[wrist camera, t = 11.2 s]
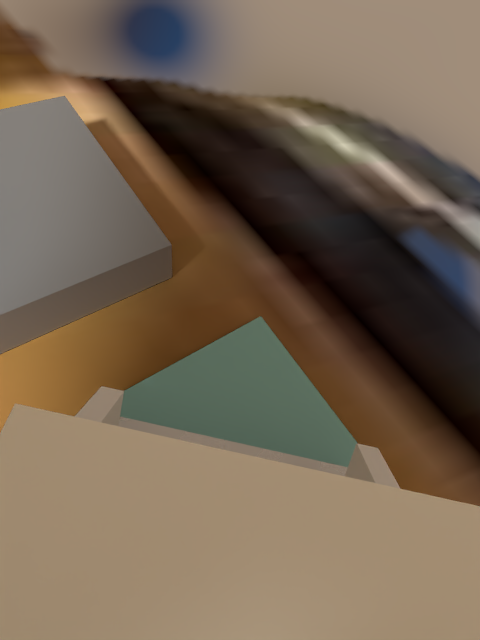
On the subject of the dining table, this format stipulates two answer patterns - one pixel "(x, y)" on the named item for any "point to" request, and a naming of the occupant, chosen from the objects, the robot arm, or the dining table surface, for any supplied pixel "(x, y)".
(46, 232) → the plate
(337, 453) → the mat
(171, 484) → the block
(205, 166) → the dining table surface
